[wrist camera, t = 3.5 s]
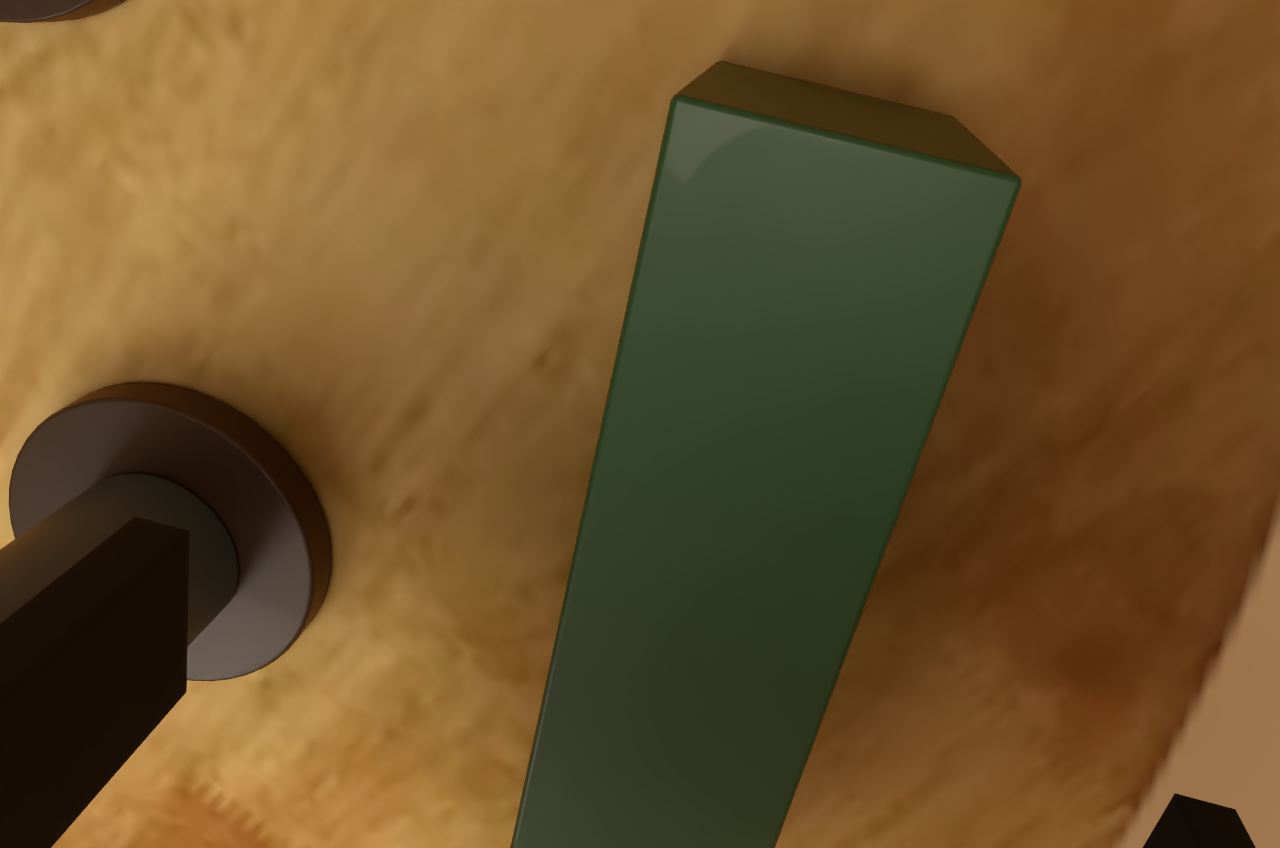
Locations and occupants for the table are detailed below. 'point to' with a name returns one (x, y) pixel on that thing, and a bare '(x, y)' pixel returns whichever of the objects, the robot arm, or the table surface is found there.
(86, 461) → the grey cylinder on disc
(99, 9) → the red peg on stand
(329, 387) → the table surface
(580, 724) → the green bar
